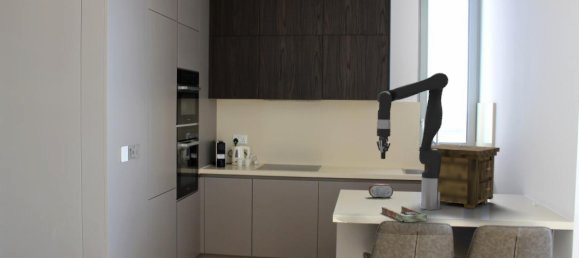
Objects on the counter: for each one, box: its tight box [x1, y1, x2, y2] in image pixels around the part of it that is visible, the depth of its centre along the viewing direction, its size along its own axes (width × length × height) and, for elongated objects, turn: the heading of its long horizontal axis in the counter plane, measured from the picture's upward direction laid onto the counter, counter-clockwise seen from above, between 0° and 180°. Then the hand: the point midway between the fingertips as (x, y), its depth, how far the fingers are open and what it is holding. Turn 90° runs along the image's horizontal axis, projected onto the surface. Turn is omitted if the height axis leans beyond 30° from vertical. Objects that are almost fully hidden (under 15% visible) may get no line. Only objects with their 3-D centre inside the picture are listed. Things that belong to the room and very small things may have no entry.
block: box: [404, 212, 419, 215], centre depth 285 cm, size 5×5×4 cm
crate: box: [418, 143, 500, 209], centre depth 336 cm, size 35×35×33 cm
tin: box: [368, 183, 394, 198], centre depth 352 cm, size 15×3×8 cm, turn 92°
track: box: [381, 205, 428, 223], centre depth 293 cm, size 13×24×3 cm, turn 17°
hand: (383, 158), depth 318 cm, fingers closed
